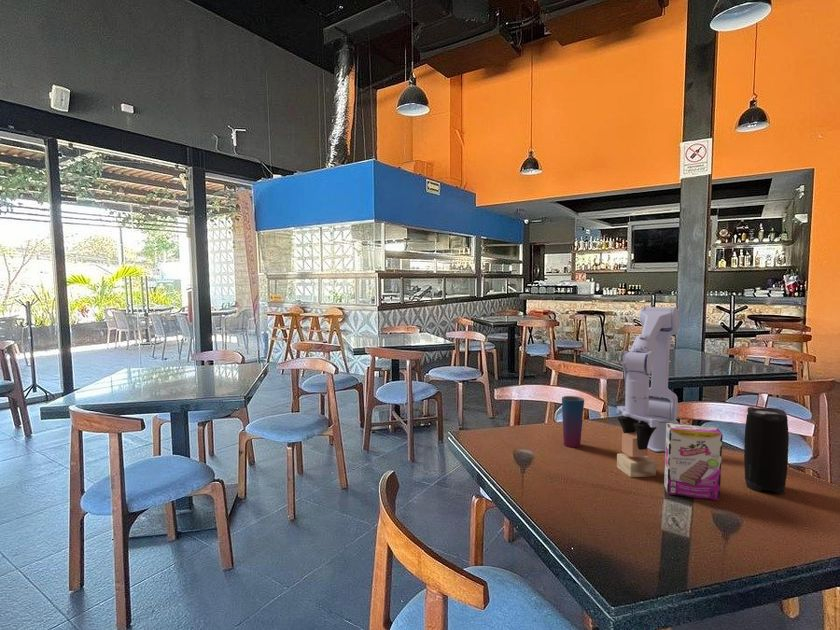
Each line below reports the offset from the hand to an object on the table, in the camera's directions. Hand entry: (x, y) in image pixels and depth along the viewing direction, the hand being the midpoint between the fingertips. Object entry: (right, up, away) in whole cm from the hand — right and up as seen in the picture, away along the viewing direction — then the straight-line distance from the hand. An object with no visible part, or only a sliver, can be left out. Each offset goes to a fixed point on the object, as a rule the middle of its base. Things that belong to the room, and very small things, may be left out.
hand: (636, 445), depth 122 cm
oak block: (0, -7, 0) cm, 7 cm away
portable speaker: (+27, -8, -11) cm, 30 cm away
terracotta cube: (0, -2, 0) cm, 2 cm away
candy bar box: (+7, -8, -14) cm, 17 cm away
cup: (-10, -6, +22) cm, 25 cm away
